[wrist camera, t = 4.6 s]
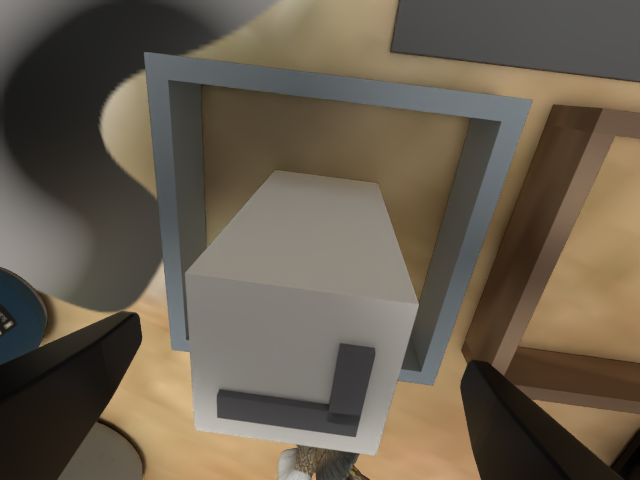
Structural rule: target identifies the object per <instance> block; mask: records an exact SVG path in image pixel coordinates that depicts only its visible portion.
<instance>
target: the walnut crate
mask: <svg viewBox="0 0 640 480" xmlns="http://www.w3.org/2000/svg"><path fill="white" fill-rule="evenodd" d="M615 136H623V137H631V138H639V139H640V113H635V112H627V111H619V110H611V109H603V108H590V107H577V106H564V105H553V108H552V110H551V113H550V116H549V118H548V121H547V124H546V126H545V129H544V132H543V134H542V137H541V140H540V142H539V145H538V148H537V150H536V153H535V156H534V158H533V161H532V164H531V166H530V169H529V172H528V174H527V177H526V180H525V182H524V185H523V188H522V190H521V193H520V196H519V198H518V201H517V204H516V206H515V209H514V212H513V214H512V217H511V220H510V222H509V225H508V228H507V230H506V233H505V236H504V238H503V241H502V244H501V246H500V249H499V252H498V254H497V257H496V260H495V262H494V265H493V268H492V270H491V273H490V276H489V278H488V281H487V284H486V286H485V289H484V292H483V294H482V297H481V300H480V302H479V305H478V308H477V310H476V313H475V316H474V318H473V321H472V324H471V326H470V329H469V332H468V334H467V337H466V340H465V342H464V345H463V348H462V350H461V351H462V353H463V355H464V357H465V360H466V362H467V364H468V363H469V361H470V360H472V359H476V360H483V361H487V362H488V363H490V364H491V365H492V366H493V367H494V368H496V369H497V370H498V371H499V372H500V373H501V374H502V375H504V376H505V377H506V378H507V379H508V380H509V381H511V382H512V383H513V384H514V385H515V386H516V387H517V388H519V389H520V390H521V391H522V392H523V393H524V394H526V395H527V396H528V397H529V398H530V399H533V400H541V401H548V402H555V403H562V404H570V405H577V406H584V407H591V408H599V409H606V410H613V411H620V412H628V413H635V414H640V364H639V363H632V362H625V361H617V360H610V359H602V358H595V357H588V356H580V355H573V354H565V353H558V352H551V351H543V350H536V349H529V348H521V347H518V345H519V343H520V340H521V338H522V336H523V334H524V332H525V330H526V328H527V325H528V323H529V321H530V319H531V317H532V315H533V312H534V310H535V308H536V306H537V304H538V302H539V299H540V297H541V295H542V293H543V291H544V289H545V287H546V284H547V282H548V280H549V278H550V276H551V274H552V271H553V269H554V267H555V265H556V263H557V261H558V258H559V256H560V254H561V252H562V250H563V248H564V246H565V243H566V241H567V239H568V237H569V235H570V233H571V230H572V228H573V226H574V224H575V222H576V220H577V217H578V215H579V213H580V211H581V209H582V207H583V205H584V202H585V200H586V198H587V196H588V194H589V192H590V189H591V187H592V185H593V183H594V181H595V179H596V176H597V174H598V172H599V170H600V168H601V166H602V164H603V161H604V159H605V157H606V155H607V153H608V151H609V148H610V146H611V144H612V142H613V140H614V138H615Z"/></svg>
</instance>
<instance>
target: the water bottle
mask: <svg viewBox="0 0 640 480" xmlns="http://www.w3.org/2000/svg"><path fill="white" fill-rule="evenodd" d="M142 475H143V470H142V462H141V460H140V457H139V455H138V453H137V452H136V450H135V449H134V447H133V446H132V445H131V444H130V443H129V442H128V441H127V440H126V439H125V438H124V437H123V436H121V435H120V434H119V433H117V432H116V431H114V430H113V429H111V428H109V427H107V426H105V425H103V424H101V423H99V422H96V423H95V424H94V426H93V427H92V429H91V430H90V432H89V433H88V435H87V436H86V438H85V439H84V441H83V442H82V444H81V445H80V447H79V448H78V450H77V451H76V453H75V454H74V456H73V457H72V459H71V460H70V462H69V463H68V465H67V466H66V468H65V469H64V471H63V472H62V474H61V475H60V477H59V478H58V480H141V479H142Z"/></svg>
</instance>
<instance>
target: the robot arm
mask: <svg viewBox="0 0 640 480" xmlns="http://www.w3.org/2000/svg"><path fill="white" fill-rule="evenodd" d="M141 341H142V332H141V324H140V318H139V315H138V314H137V313H135V312H128V311H121V312H118V313H116V314H114V315H111V316H109V317H107V318H105V319H102V320H100V321H98V322H96V323H93V324H91V325H89V326H87V327H84V328H82V329H80V330H78V331H75V332H73V333H71V334H69V335H66V336H64V337H62V338H60V339H57V340H55V341H53V342H51V343H48V344H46V345H44V346H42V347H39V348H37V349H35V350H32V351H30V352H28V353H26V354H23V355H21V356H19V357H17V358H14V359H12V360H10V361H8V362H5V363H3V364H1V365H0V480H58V478H59V477H60V475H61V474H62V472H63V471H64V469H65V468H66V466H67V465H68V463H69V462H70V460H71V459H72V457H73V456H74V454H75V453H76V451H77V450H78V448H79V447H80V445H81V444H82V442H83V441H84V439H85V438H86V436H87V435H88V433H89V432H90V430H91V429H92V427H93V426H94V424H95V423H96V421H97V420H98V418H99V417H100V415H101V414H102V412H103V411H104V409H105V408H106V406H107V405H108V403H109V402H110V400H111V398H112V397H113V395H114V393H115V392H116V390H117V388H118V386H119V384H120V382H121V380H122V379H123V377H124V375H125V373H126V371H127V369H128V367H129V365H130V364H131V362H132V360H133V358H134V356H135V354H136V352H137V350H138V349H139V347H140V345H141ZM460 388H461V395H462V400H463V405H464V410H465V416H466V421H467V426H468V431H469V437H470V441H471V446H472V450H473V454H474V457H475V461H476V464H477V468H478V471H479V474H480V478H481V480H640V433H639V434H638V435H637V437H636V438H635V439H634V440H633V442H632V443H631V444H630V446H629V447H628V448H627V450H626V451H625V452H624V454H623V455H622V456H621V457H620V459H619V460H618V461H617V463H616V464H615V465H614V467H613V468H612V469H611V468H610V467H609V466H608V465H606V464H605V463H604V462H603V461H602V460H601V459H599V458H598V457H597V456H596V455H595V454H594V453H592V452H591V451H590V450H589V449H588V448H587V447H586V446H584V445H583V444H582V443H581V442H580V441H579V440H577V439H576V438H575V437H574V436H573V435H572V434H571V433H569V432H568V431H567V430H566V429H565V428H564V427H562V426H561V425H560V424H559V423H558V422H557V421H556V420H554V419H553V418H552V417H551V416H550V415H549V414H547V413H546V412H545V411H544V410H543V409H542V408H541V407H539V406H538V405H537V404H536V403H535V402H534V401H532V400H531V399H530V398H529V397H528V396H527V395H526V394H524V393H523V392H522V391H521V390H520V389H519V388H517V387H516V386H515V385H514V384H513V383H512V382H511V381H509V380H508V379H507V378H506V377H505V376H504V375H502V374H501V373H500V372H499V371H498V370H497V369H496V368H494V367H493V366H492V365H491V364H490V363H488V362H487V361H483V360H476V359H472V360H470V361H469V363H468V365H467V367H466V370H465V372H464V375H463V377H462V380H461V385H460Z"/></svg>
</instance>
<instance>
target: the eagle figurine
mask: <svg viewBox="0 0 640 480" xmlns="http://www.w3.org/2000/svg"><path fill="white" fill-rule="evenodd" d="M296 445H297V444H296ZM297 446H298V448H293V449H287V450H285V451H283V452H282V453H281V455H280V458H279V461H278V478H277V480H311V478H312V475H313V473H315V472H316V480H370V479H369V478H367V477H366V476H364V475H362V474H361V473H360V471H359V470H358V469H357V468H356V467H355V466H354V465H353V464H354V463H356V461H357V459H358V456H359V454H360V453H353V452H346V451H339V450H332V449H325V448H318V447H311V446H304V445H297Z"/></svg>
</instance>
